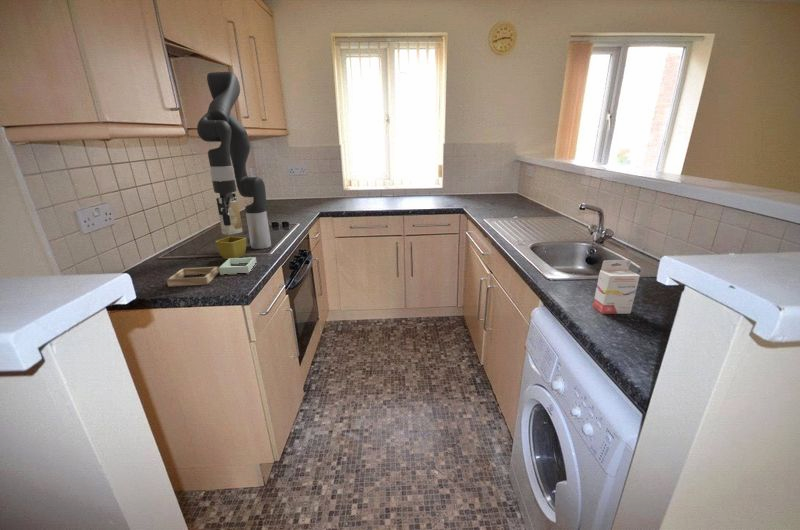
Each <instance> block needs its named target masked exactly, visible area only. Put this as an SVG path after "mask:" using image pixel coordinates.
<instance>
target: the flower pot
mask: <svg viewBox="0 0 800 530" xmlns="http://www.w3.org/2000/svg"><path fill="white" fill-rule="evenodd" d="M214 243H215V245H216V247H217V251H218V253H219V255H220V256H221V257H222V258H223V259H224V260H225V259H230V258H239V257H240V256H242V255H244V256H245V254H246V250H247V237H240V236H239V237H238V236H227V237H224V238H221V239H218V240H216V241H215V242H214Z"/></svg>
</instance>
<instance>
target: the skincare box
mask: <svg viewBox="0 0 800 530" xmlns="http://www.w3.org/2000/svg"><path fill="white" fill-rule="evenodd" d="M216 205H217V204H216ZM227 206H228V205H227V204H226V207H227ZM239 206H240V205H239V200H237V201H232V202H231V209H230V210H229V216H230V222H231V225H228V226H225V225H224V221H223V215H219V214H218V217H219V223H220V229H221V234H222V235H228V236H232V235H235V234H239V233H243V225H242V218H241V212H240V207H239ZM217 207H218V205H217ZM217 212H218V213H219V211H217Z"/></svg>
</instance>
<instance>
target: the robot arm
mask: <svg viewBox="0 0 800 530" xmlns="http://www.w3.org/2000/svg"><path fill="white" fill-rule="evenodd" d="M206 81H207V85H208V89H209V92H210V95H211V97H212V100H211V101H210V104H209V106H208V110H207V112H206V113H205V114H204V115H203V116H202V117H201V118H200V119H199V121H198V123H197V126H196V132H197V134H198V137H199V138H200V139H201V140H202V141H204V142H208V143H210V142H211V143H213V142H215V143H216V142H218V143H219V142H220V145H219V146H218V147H216V148H211V149H209V150H208V151H207V156H208V157H207V158H208V161H209V163H208V164H209V168H210V177H211V182H212V187H213V192H214V193H216V194H219V197H216V205H218V206H217V210H218V211H219V212H218V211H217V212H218V216H219V215H223V221H224V225H225V226H228V225H231V222H230V216H229V210H230V209H231V202H232V201H238V200H237V195H236V192H237V191H238V193H239V195H241V196H242V197H243V198H253V202H252V203H250V204H248V205H246V206H245V207H244V209H245V216H246V223H247V228H248V236H249V241H250V247H251V249H254V250H260V249H262V250H263V249H267V248H270V247H272V242H271V240H272V239H271V234H270V227H269V226H270V225H269V220H268V212H267V194H266V193H267V192H266V185H265V182H264V179H262V178H261V177H258V176H248V173H247V169H246V167H247V165H246V164H247V160H248V157H249V155H250V151H251V144H250V140H249V137H248V136H249V135H248V132H247V129H246V128H245V127H244V126H243V124H242V123H241V122H240V121H239V120H238V119H237V118H236V117H235V116H234V115H233V114H232V110H233V109H232V108H233V107H234V105H235V104H236V102H237V100H238V99H239V96H240V94H241V86H240V82H239V79H238V77H237V74H235V73H234V72H233V71H215V72H208V73H207V75H206ZM226 204H227V205H228V206H227V207H226Z"/></svg>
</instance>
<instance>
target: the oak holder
mask: <svg viewBox="0 0 800 530" xmlns="http://www.w3.org/2000/svg"><path fill="white" fill-rule="evenodd" d="M218 273H219V274H220V272H219V266H208V267H207V266H204V267H202V266H201V267H187V268H186V267H185V268H181V269H180V270H179V271H177V272H175V273H174V274H172V275H171V276H170V277H169V278H167V279H166V282H167V283H166V284H167V287H183V286H184V287H185V286H200V285H208V284H210V283H211V282H212V280H214V279H215V278H216V277H217V276H218V275H219V274H218ZM198 274H199V276H198ZM200 274H202V275H204V276H200ZM217 274H218V275H217ZM186 276H194V277H186ZM195 276H196V277H195Z"/></svg>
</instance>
